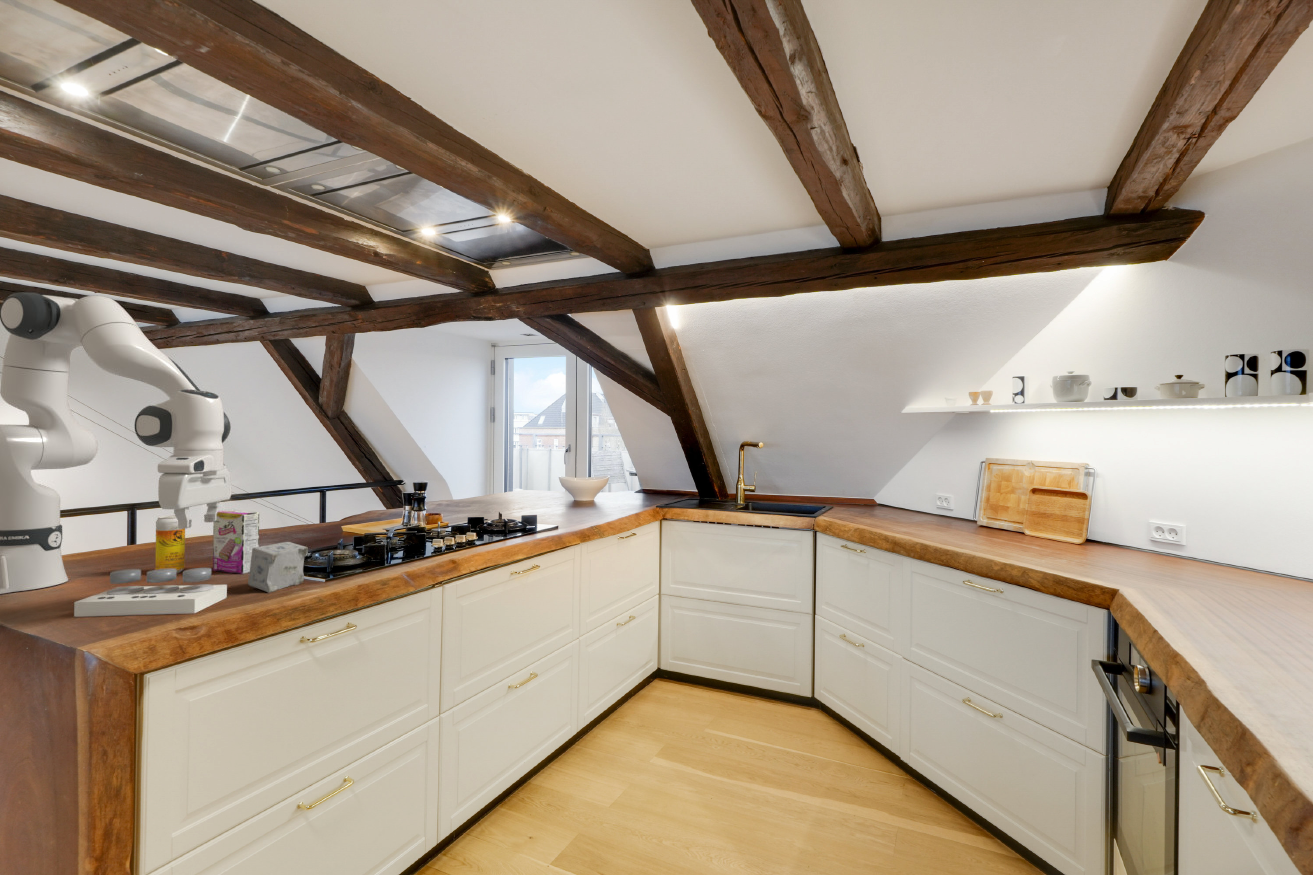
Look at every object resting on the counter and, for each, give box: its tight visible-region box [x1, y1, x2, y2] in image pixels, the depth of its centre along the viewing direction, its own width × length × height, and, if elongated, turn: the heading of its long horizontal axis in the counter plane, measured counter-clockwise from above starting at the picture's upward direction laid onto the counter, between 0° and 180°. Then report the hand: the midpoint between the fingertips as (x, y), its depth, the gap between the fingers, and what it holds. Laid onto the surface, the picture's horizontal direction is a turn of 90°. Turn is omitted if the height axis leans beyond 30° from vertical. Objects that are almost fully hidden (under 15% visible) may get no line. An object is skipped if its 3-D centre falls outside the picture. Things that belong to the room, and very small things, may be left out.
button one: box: [182, 567, 212, 583], centre depth 130 cm, size 5×5×2 cm
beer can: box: [154, 514, 186, 574], centre depth 158 cm, size 6×6×15 cm
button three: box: [146, 568, 177, 584], centre depth 129 cm, size 5×5×2 cm
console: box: [73, 583, 228, 618], centre depth 127 cm, size 22×12×3 cm, turn 99°
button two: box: [109, 568, 142, 585], centre depth 128 cm, size 5×5×2 cm
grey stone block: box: [247, 541, 309, 594], centre depth 145 cm, size 10×8×10 cm
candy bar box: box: [212, 509, 260, 575], centre depth 160 cm, size 11×5×16 cm, turn 73°
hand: (197, 525), depth 130 cm, fingers open, 8 cm apart
